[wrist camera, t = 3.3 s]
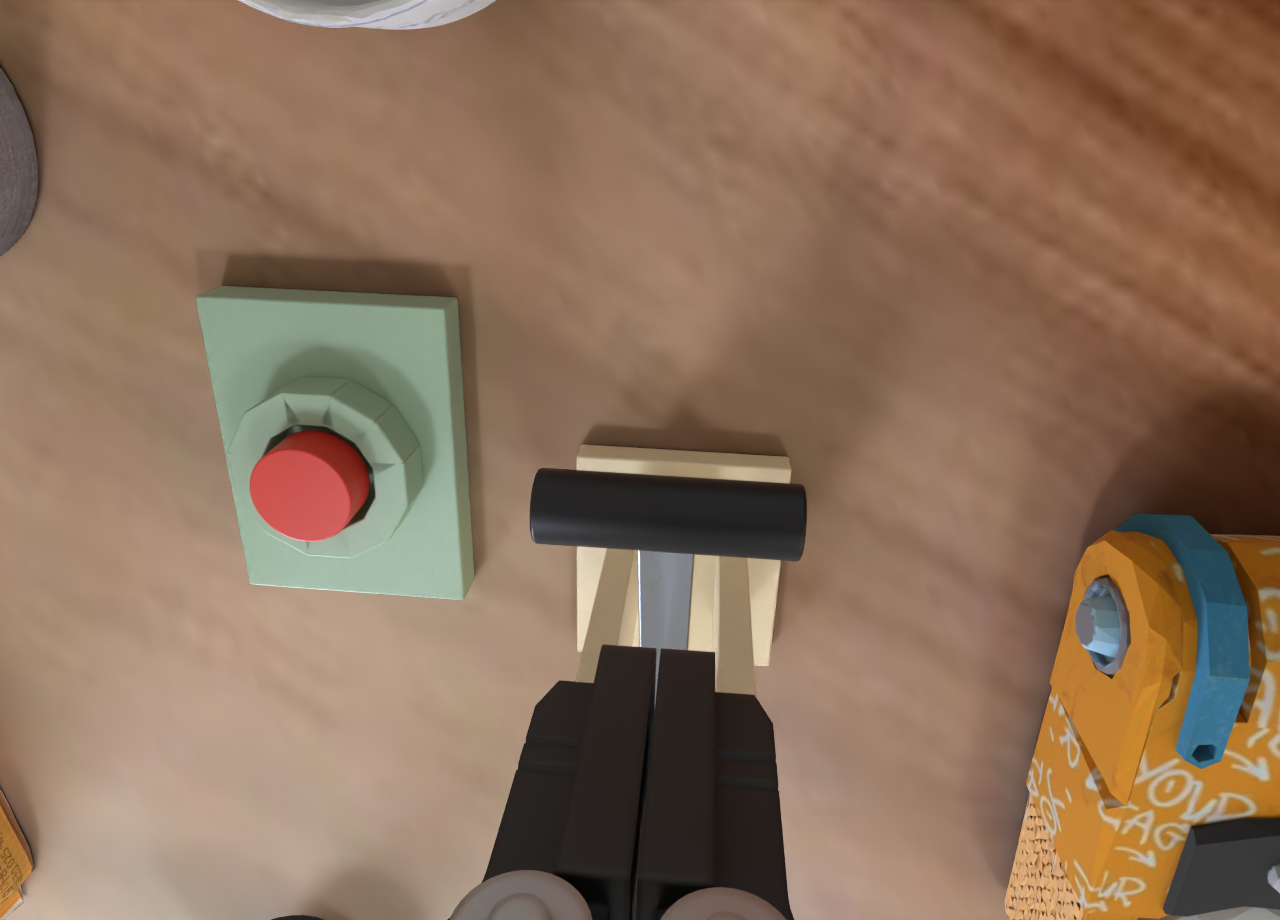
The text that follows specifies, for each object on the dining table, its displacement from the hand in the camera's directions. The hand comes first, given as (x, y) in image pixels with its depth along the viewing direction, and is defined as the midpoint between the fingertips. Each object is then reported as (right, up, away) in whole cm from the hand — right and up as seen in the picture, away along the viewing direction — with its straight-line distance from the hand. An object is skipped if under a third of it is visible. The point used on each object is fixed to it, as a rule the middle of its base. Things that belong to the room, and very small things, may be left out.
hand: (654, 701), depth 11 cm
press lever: (+1, -1, +10) cm, 10 cm away
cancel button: (-12, +3, +19) cm, 23 cm away
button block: (-11, +4, +22) cm, 25 cm away
